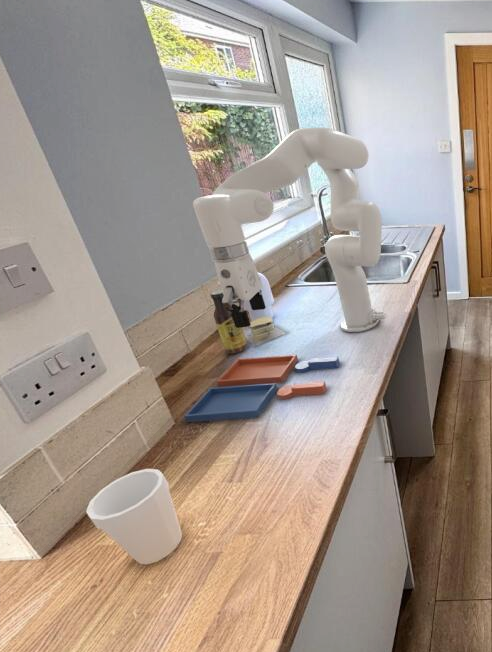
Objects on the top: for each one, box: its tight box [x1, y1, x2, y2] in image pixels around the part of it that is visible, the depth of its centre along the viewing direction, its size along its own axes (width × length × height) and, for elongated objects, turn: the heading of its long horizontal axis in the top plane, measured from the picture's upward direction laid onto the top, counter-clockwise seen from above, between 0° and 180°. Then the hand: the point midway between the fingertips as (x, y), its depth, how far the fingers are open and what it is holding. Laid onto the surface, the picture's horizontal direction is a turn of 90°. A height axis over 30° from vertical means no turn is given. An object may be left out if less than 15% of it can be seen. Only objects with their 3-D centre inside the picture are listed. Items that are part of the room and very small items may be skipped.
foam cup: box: [85, 468, 183, 565], centre depth 66 cm, size 10×9×13 cm
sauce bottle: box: [209, 289, 248, 355], centre depth 125 cm, size 7×6×20 cm
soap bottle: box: [238, 272, 275, 322], centre depth 143 cm, size 10×10×24 cm
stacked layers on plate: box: [245, 317, 286, 347], centre depth 135 cm, size 10×9×6 cm
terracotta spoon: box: [276, 380, 328, 400], centre depth 106 cm, size 12×4×2 cm, turn 93°
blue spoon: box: [294, 356, 341, 373], centre depth 117 cm, size 12×4×2 cm, turn 93°
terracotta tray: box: [216, 354, 299, 387], centre depth 115 cm, size 17×11×2 cm, turn 93°
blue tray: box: [183, 383, 279, 424], centre depth 103 cm, size 17×11×2 cm, turn 93°
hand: (251, 317), depth 100 cm, fingers open, 9 cm apart
